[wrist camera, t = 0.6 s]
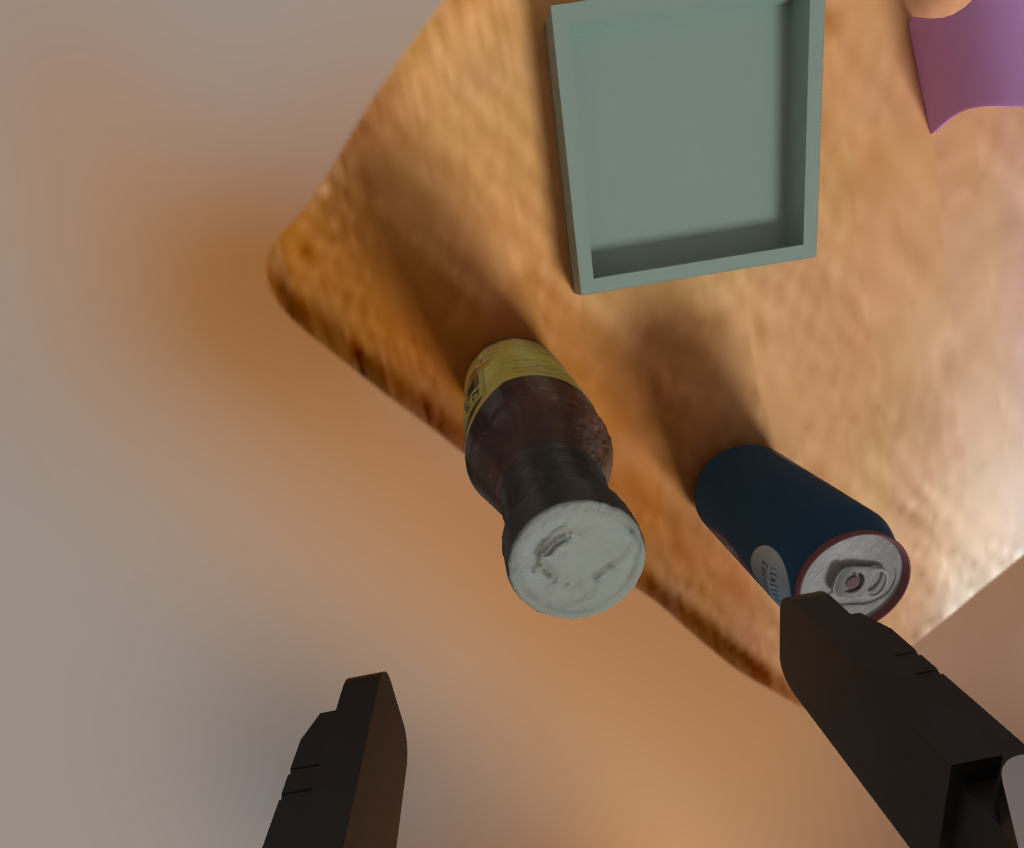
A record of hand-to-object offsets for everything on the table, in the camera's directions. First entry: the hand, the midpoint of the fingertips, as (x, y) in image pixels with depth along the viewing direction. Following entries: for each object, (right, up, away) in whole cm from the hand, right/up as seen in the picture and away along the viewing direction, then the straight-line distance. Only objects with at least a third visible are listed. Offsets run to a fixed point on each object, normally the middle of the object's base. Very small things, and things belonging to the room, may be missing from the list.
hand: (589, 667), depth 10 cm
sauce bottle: (-1, +8, +23) cm, 24 cm away
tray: (+8, +21, +19) cm, 29 cm away
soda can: (+14, +1, +26) cm, 30 cm away
